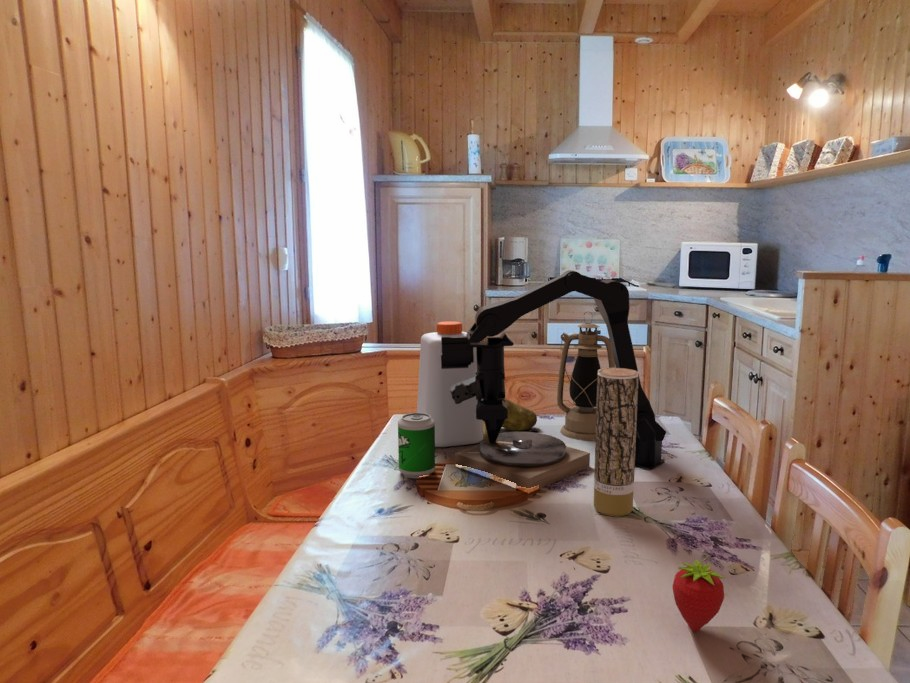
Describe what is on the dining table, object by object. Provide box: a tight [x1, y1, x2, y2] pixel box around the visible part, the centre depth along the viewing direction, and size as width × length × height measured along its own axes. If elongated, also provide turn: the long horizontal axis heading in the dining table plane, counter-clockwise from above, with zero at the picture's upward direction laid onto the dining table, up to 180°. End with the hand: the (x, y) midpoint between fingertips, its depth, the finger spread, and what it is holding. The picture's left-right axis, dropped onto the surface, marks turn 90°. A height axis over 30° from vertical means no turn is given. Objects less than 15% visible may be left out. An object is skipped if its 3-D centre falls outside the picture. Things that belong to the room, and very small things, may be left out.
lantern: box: [556, 311, 616, 441], centre depth 154 cm, size 14×12×30 cm
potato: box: [501, 398, 538, 432], centre depth 158 cm, size 8×13×8 cm, turn 74°
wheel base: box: [454, 444, 591, 490], centre depth 133 cm, size 20×20×3 cm
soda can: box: [397, 412, 436, 479], centre depth 129 cm, size 8×8×12 cm
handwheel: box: [479, 421, 567, 467], centre depth 132 cm, size 18×18×6 cm
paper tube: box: [593, 367, 640, 517], centre depth 110 cm, size 7×7×25 cm
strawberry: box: [672, 556, 726, 632], centre depth 77 cm, size 6×8×10 cm
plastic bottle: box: [416, 320, 483, 448], centre depth 151 cm, size 15×15×28 cm
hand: (492, 438), depth 134 cm, fingers open, 5 cm apart
